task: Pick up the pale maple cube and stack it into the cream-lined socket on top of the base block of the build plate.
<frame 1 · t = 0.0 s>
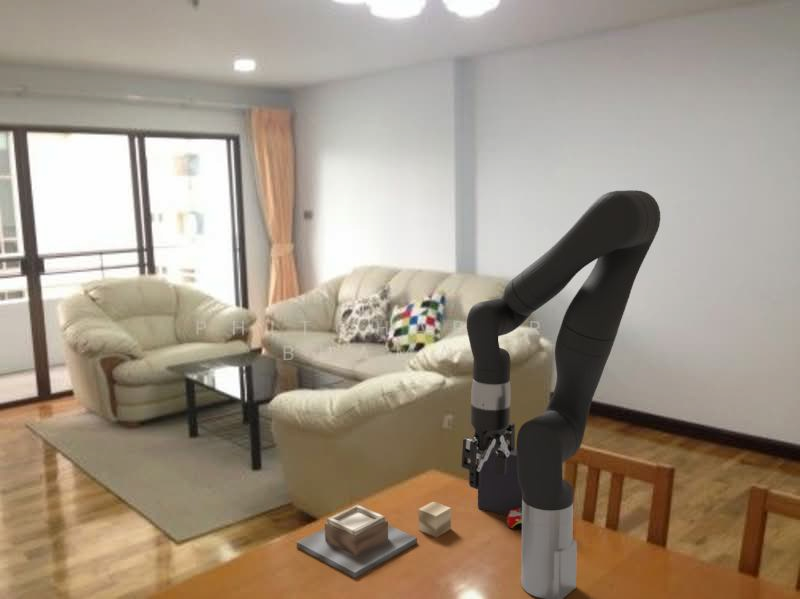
hand: (488, 480, 137), 17 cm above the table, tool pointing down, fingers open, 8 cm apart
build plate: (357, 545, 147), on the table
race car: (536, 528, 154), on the table
maple cube: (434, 529, 153), on the table
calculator: (502, 511, 161), on the table
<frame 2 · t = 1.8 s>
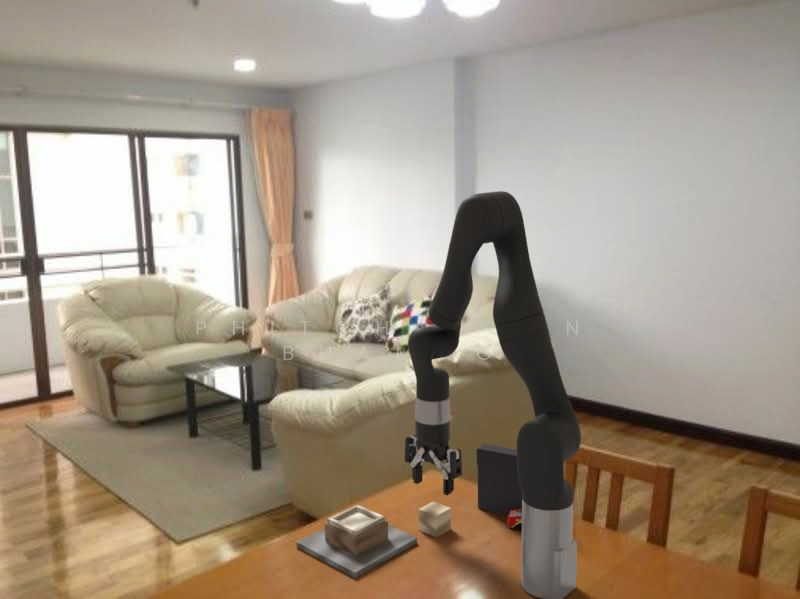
hand: (432, 488, 152), 10 cm above the table, tool pointing down, fingers open, 8 cm apart
nothing on the table moved.
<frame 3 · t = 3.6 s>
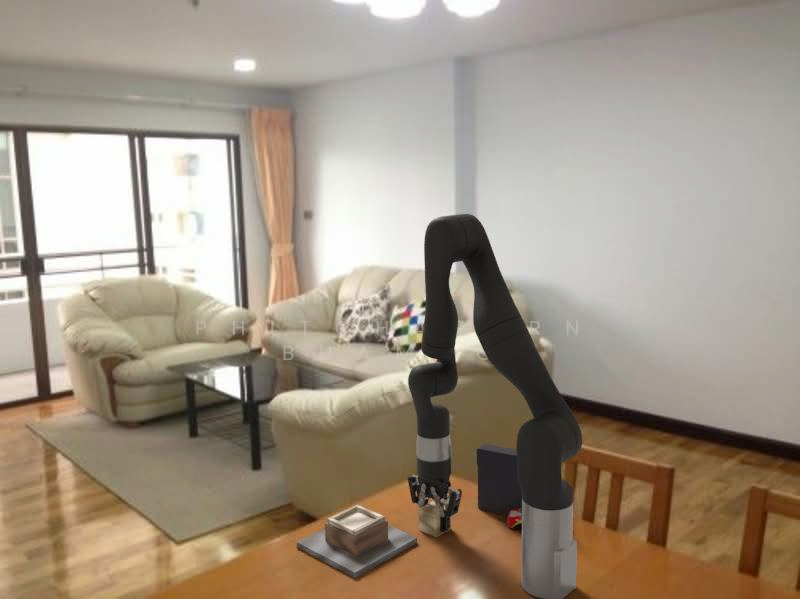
hand: (434, 526, 153), 1 cm above the table, tool pointing down, fingers closed on maple cube, 5 cm apart
maple cube: (434, 529, 153), on the table, touching gripper
everything else where it was.
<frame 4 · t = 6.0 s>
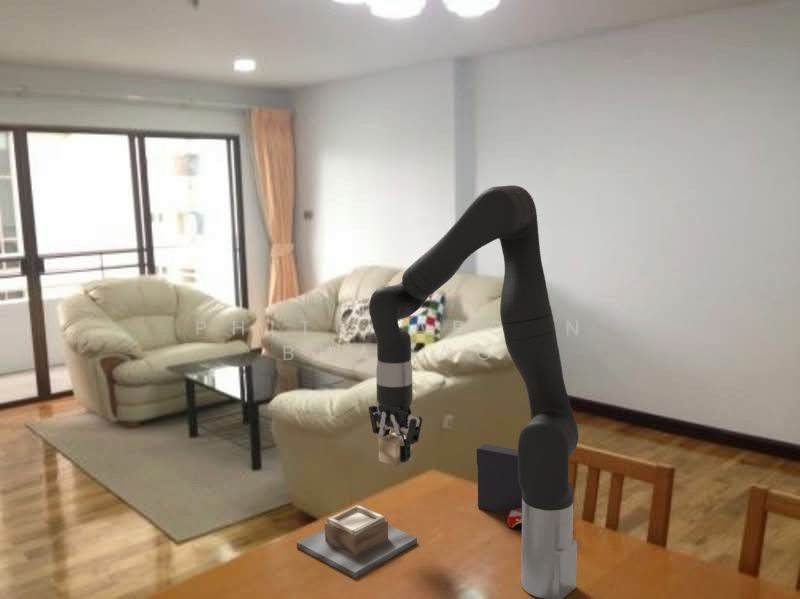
hand: (395, 457, 148), 18 cm above the table, tool pointing down, fingers closed on maple cube, 5 cm apart
maple cube: (395, 460, 148), point 17 cm above the table, touching gripper
everything else where it was.
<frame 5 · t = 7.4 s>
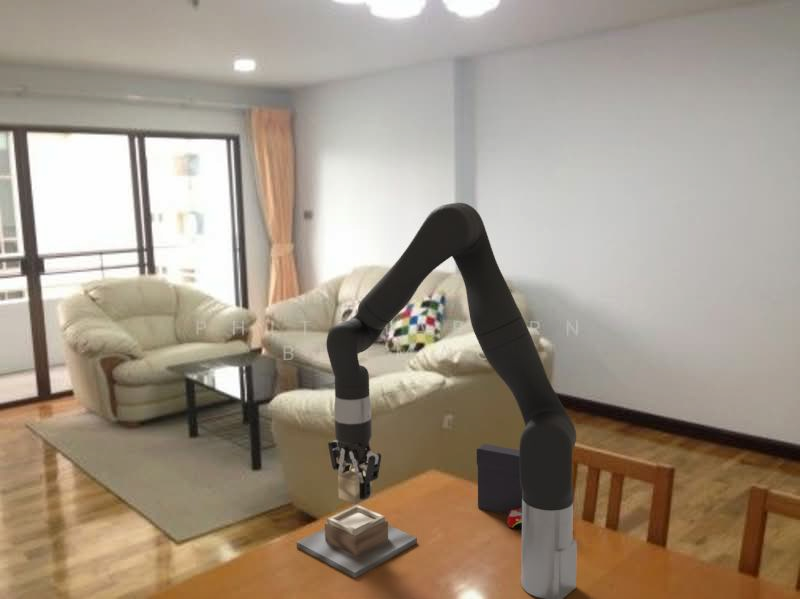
hand: (355, 494, 145), 11 cm above the table, tool pointing down, fingers closed on maple cube, 5 cm apart
maple cube: (355, 497, 145), point 11 cm above the table, touching gripper
everything else where it was.
when the fingers open (7 cm above the table, at t = 8.7 s): maple cube drops 1 cm, resting on build plate.
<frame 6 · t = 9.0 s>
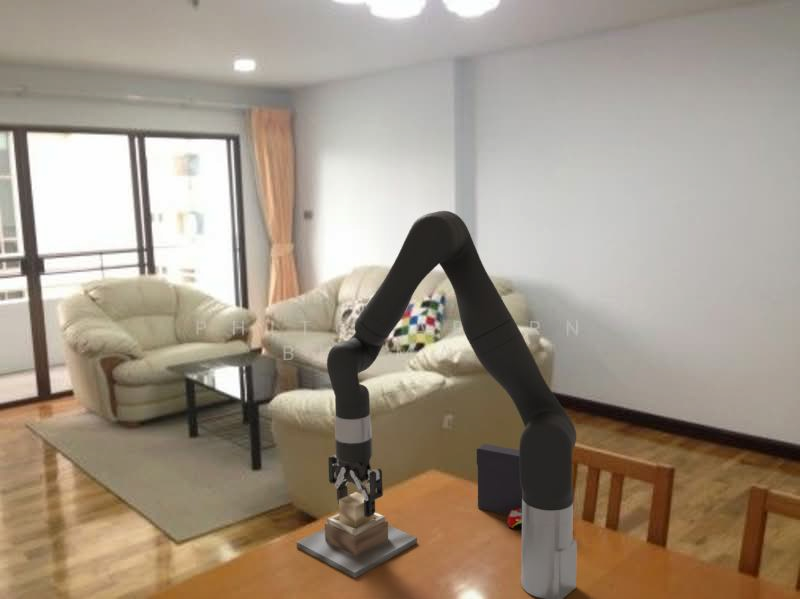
hand: (355, 509, 146), 8 cm above the table, tool pointing down, fingers open, 7 cm apart
maple cube: (356, 521, 146), point 5 cm above the table, touching build plate
everything else where it was.
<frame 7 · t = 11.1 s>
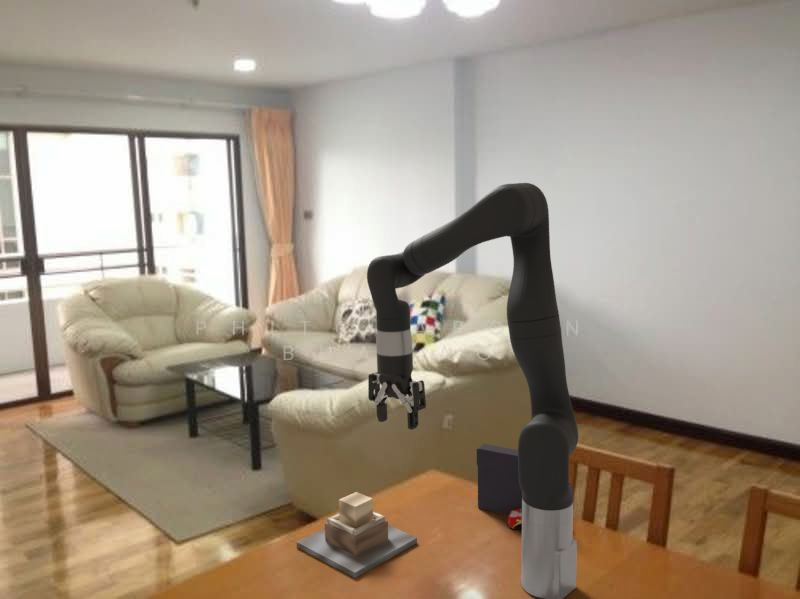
hand: (397, 424, 148), 25 cm above the table, tool pointing down, fingers open, 8 cm apart
nothing on the table moved.
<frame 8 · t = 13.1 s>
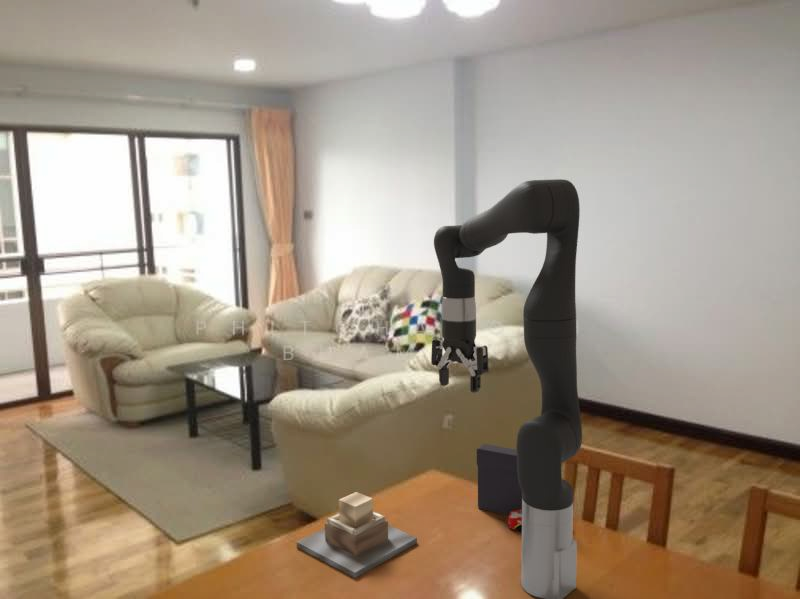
hand: (459, 388, 155), 30 cm above the table, tool pointing down, fingers open, 8 cm apart
nothing on the table moved.
at the end: maple cube 0.0 cm off-centre on the build plate, point 5.3 cm above the build plate's base; maple cube tilted 0°; the gripper is holding nothing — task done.
